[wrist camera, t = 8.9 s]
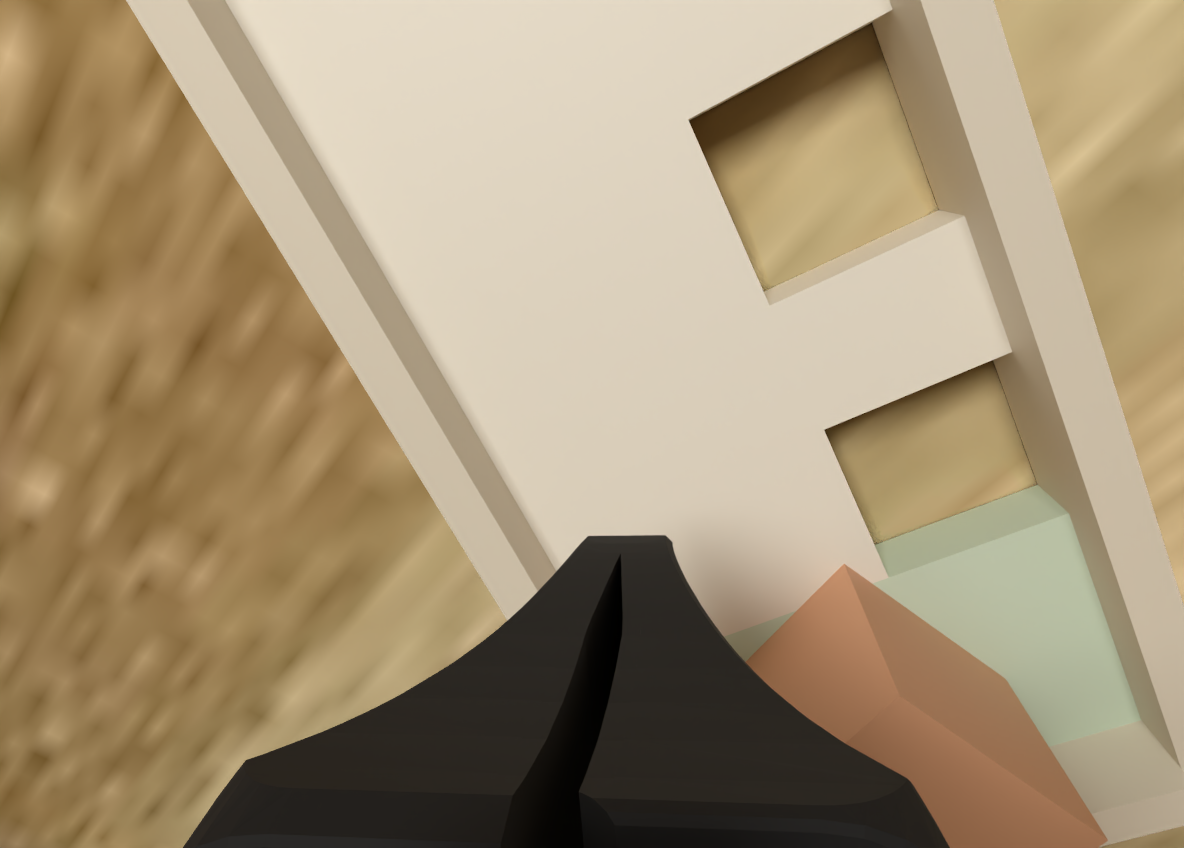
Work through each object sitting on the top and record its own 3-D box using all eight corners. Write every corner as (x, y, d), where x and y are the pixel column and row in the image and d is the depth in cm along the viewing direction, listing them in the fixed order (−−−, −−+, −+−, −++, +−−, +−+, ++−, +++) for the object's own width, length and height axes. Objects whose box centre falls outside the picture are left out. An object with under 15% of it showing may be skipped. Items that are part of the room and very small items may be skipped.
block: (1005, 678, 18) (1108, 840, 14) (859, 801, 20) (911, 978, 15) (844, 563, 17) (899, 695, 13) (707, 699, 19) (718, 855, 15)
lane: (1158, 696, 19) (1257, 806, 16) (694, 833, 23) (698, 949, 19) (759, -484, 13) (791, -705, 9) (172, -57, 16) (39, -112, 12)
